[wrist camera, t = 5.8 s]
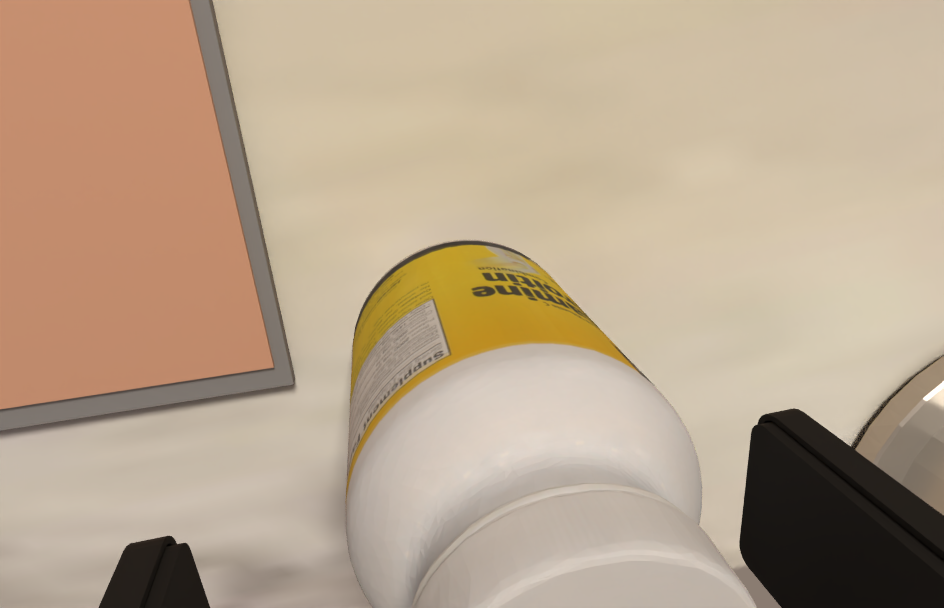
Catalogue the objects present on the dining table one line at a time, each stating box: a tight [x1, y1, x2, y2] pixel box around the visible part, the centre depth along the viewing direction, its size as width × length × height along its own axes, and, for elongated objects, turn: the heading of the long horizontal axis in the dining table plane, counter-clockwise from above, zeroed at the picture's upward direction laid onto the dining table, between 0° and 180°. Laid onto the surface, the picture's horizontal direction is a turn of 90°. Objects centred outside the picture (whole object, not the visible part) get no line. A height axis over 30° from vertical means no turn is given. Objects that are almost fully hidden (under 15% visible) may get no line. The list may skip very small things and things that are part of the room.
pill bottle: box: [346, 240, 757, 608], centre depth 13 cm, size 6×6×12 cm
